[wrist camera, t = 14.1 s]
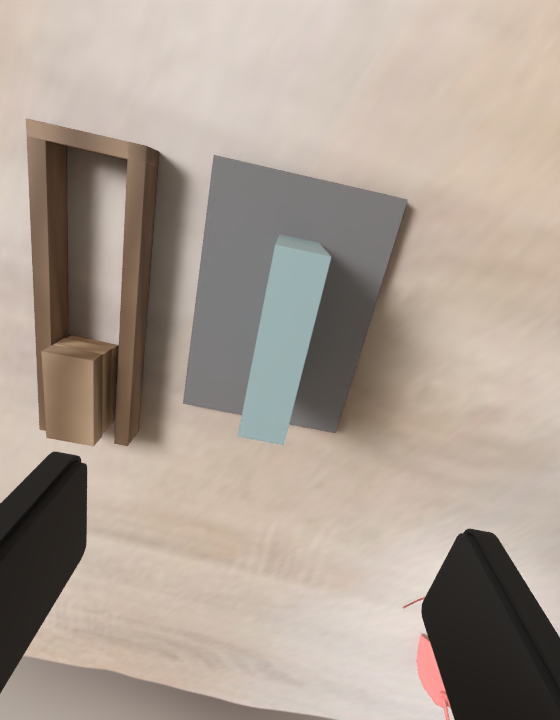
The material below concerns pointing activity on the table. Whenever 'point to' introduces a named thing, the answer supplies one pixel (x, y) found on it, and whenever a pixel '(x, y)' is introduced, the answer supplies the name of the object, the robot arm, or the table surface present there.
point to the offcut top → (73, 394)
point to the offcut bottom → (113, 368)
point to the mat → (251, 273)
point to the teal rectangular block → (283, 337)
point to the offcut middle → (106, 371)
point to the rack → (52, 254)
